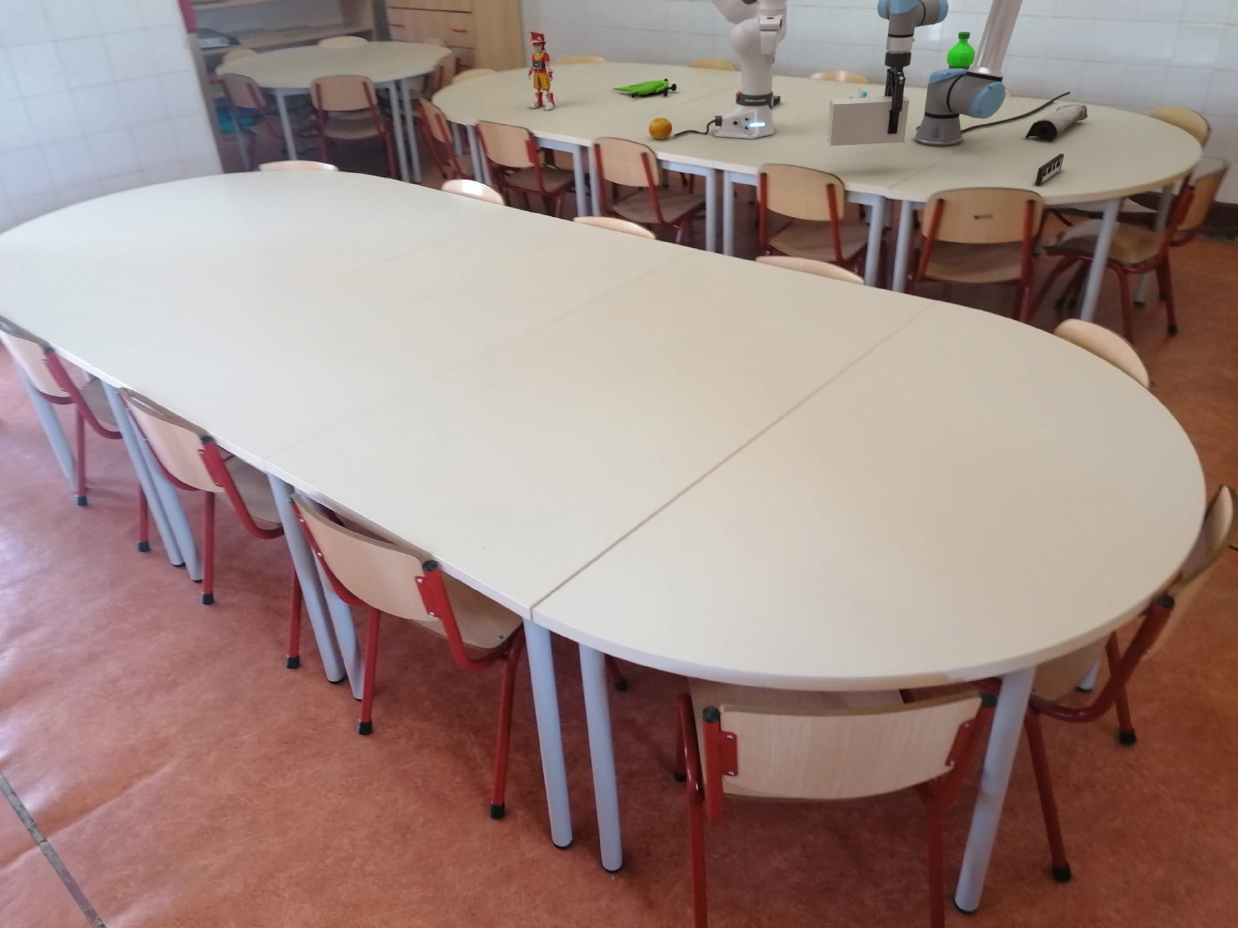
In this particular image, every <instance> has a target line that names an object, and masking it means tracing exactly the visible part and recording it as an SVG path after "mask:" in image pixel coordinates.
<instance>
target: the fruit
mask: <svg viewBox="0 0 1238 928" xmlns="http://www.w3.org/2000/svg"><path fill="white" fill-rule="evenodd" d="M672 132H673V124H672V122H670V120H669V119H667V118H665V117H658V118H654V119H653V120H651V121H650V122H649V125H648V133H649V135H650V136H651V137H652V138H653V139H656V140H664V139H667V138H669V137H670V136H671V134H672Z"/></svg>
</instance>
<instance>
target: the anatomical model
mask: <svg viewBox="0 0 1238 928" xmlns="http://www.w3.org/2000/svg"><path fill="white" fill-rule="evenodd" d="M858 89H859V90H858V91H857V93H855V94H851V96H850V98H869V97H870V96H869V97H867V96H868V92H867V91H865V90H864V89H863V88H858Z"/></svg>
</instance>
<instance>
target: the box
mask: <svg viewBox="0 0 1238 928" xmlns="http://www.w3.org/2000/svg"><path fill="white" fill-rule="evenodd" d="M891 105H892V96H890V97H884V96H869V98H868V97H866V98H832V99H830V100H829V113H828V114H829V115H828V125H827V137H826V141H827V143H828V144H829V146H830V147H835V146H855V145H858V146H859V145H877V144H878V145H879V144H897V143H905V138H906V130H907V123H908V115H909V107H910V99H908V98H907V96H906V95H903V104H902V111H900V112H899V120H898V128H897V134H888V125H889V116H890V113H889V111H890V110H891Z"/></svg>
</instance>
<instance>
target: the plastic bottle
mask: <svg viewBox="0 0 1238 928" xmlns="http://www.w3.org/2000/svg"><path fill="white" fill-rule="evenodd" d="M970 36H971V32H970V31H959V32H958V36H957V39H958V42H957V43H956V44H954V45H953V46H952V47H951V48H950V49H949V50H948V52H947V54H946V63H947V64H948V69H956V68H962V69H966V71H967V70H968V69H969V68H970V67H971V65H972V64H974V62H975V58H976V51H975V49H974V47H972V45H971V44H970V43H969V42H968V41H969V39H970V38H971V37H970Z"/></svg>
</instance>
